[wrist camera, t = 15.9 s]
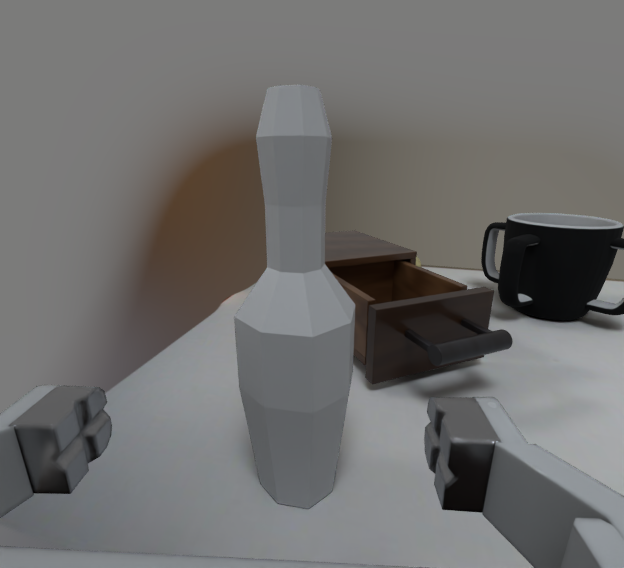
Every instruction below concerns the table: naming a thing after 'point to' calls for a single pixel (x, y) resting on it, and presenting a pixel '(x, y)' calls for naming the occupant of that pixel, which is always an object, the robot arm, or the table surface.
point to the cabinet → (362, 250)
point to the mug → (554, 263)
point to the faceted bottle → (295, 310)
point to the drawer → (416, 319)
